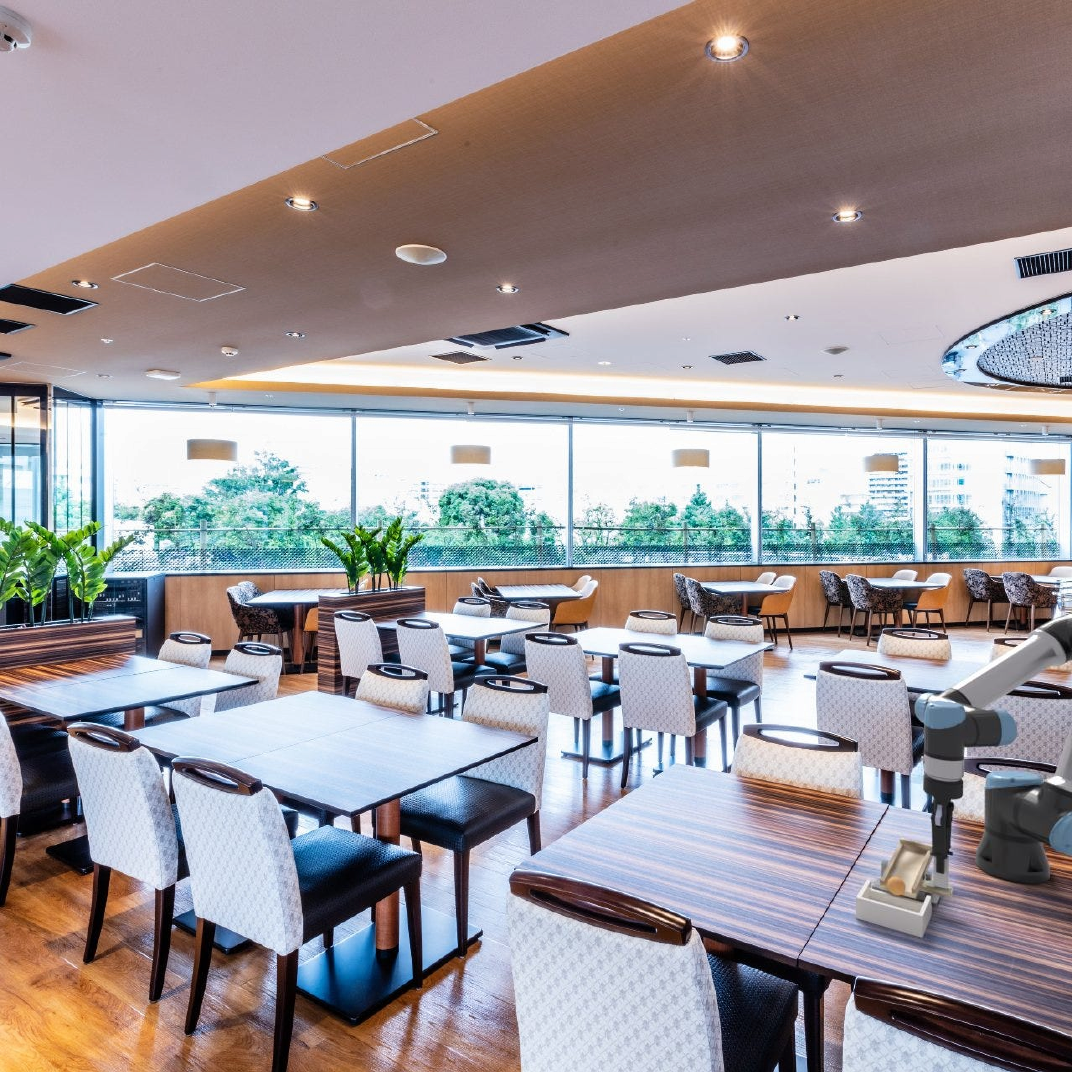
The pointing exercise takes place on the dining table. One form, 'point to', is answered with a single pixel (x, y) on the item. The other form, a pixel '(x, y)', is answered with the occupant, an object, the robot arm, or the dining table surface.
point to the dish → (893, 910)
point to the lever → (912, 869)
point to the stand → (920, 896)
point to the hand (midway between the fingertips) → (940, 885)
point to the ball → (896, 886)
